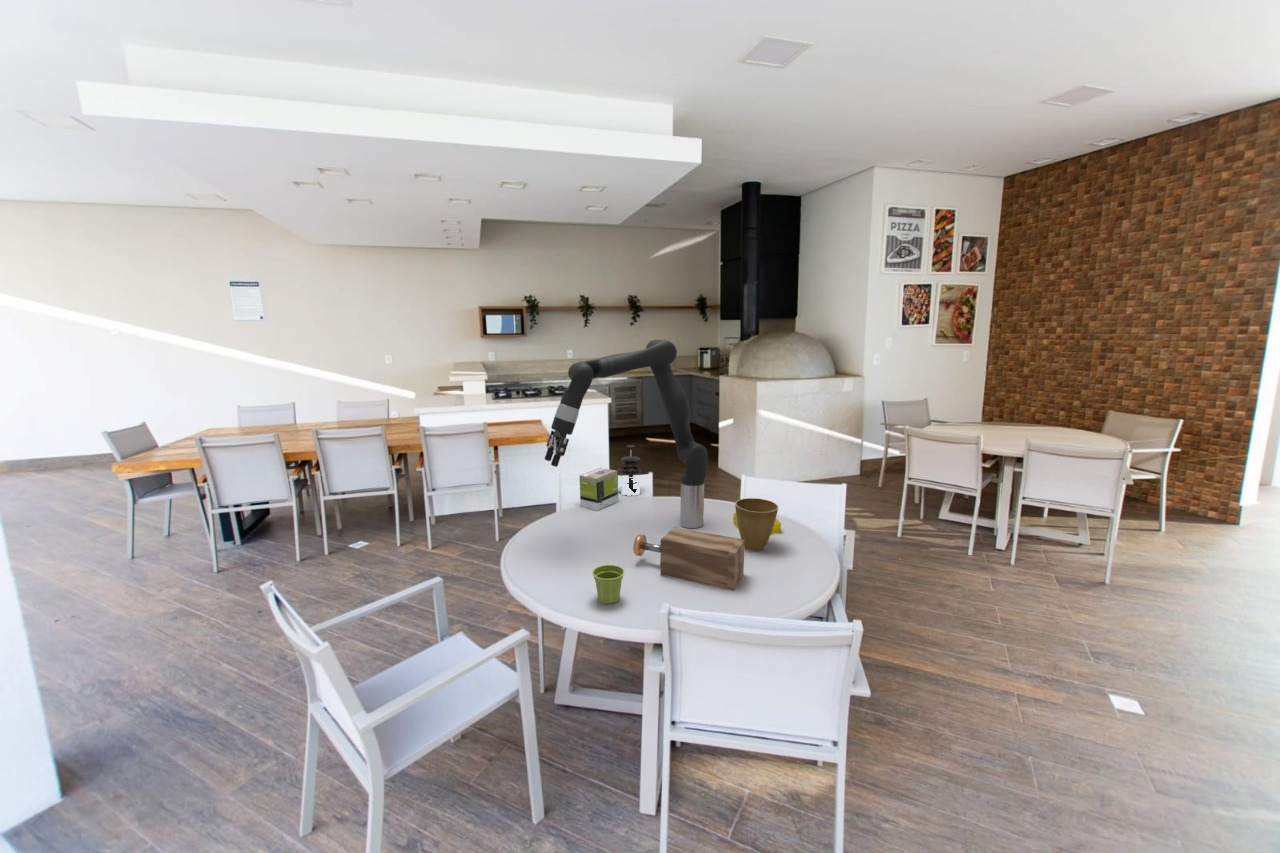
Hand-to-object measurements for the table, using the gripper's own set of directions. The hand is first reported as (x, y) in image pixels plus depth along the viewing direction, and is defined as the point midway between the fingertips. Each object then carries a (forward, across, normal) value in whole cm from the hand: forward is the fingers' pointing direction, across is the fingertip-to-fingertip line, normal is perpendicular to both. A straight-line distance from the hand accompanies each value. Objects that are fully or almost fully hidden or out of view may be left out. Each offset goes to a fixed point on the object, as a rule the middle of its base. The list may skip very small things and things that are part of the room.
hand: (550, 463), depth 186 cm
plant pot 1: (+28, -41, -16) cm, 52 cm away
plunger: (+17, -30, -38) cm, 51 cm away
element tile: (+2, -12, -85) cm, 86 cm away
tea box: (+18, +38, -40) cm, 59 cm away
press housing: (+16, -39, -47) cm, 63 cm away
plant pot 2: (+6, -28, -73) cm, 79 cm away
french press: (+12, +47, -58) cm, 76 cm away
